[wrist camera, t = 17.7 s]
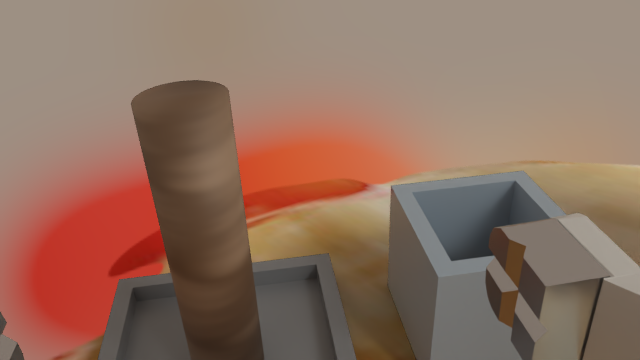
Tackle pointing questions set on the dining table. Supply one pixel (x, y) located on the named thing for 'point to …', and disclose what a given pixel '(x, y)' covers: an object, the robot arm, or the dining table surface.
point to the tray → (273, 308)
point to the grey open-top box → (455, 260)
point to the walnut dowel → (201, 215)
